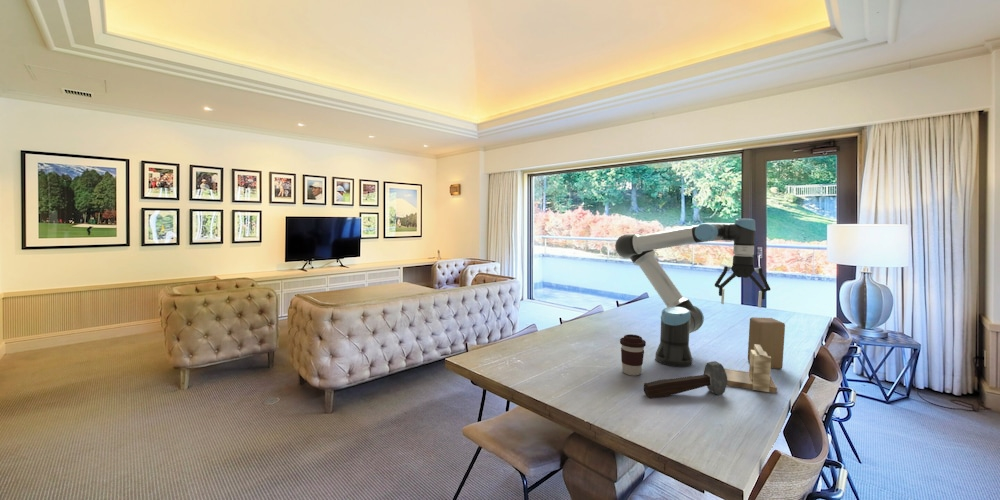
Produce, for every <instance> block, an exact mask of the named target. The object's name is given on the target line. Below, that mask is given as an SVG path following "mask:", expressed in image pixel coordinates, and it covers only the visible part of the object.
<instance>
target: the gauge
mask: <svg viewBox="0 0 1000 500" xmlns="http://www.w3.org/2000/svg"><path fill="white" fill-rule="evenodd" d="M754 349H755V350H750V362H749V370H748V372H749V376H750V378H751V380H753V389H752V390H754V391H758V392H765V393H770V392H769V386H770V376H771V369H772V368H771V357H770V356H768V355H767V353H766V351H763V349H762V347H761V346H760V345H758V344H754Z"/></svg>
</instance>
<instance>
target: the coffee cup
mask: <svg viewBox="0 0 1000 500" xmlns="http://www.w3.org/2000/svg"><path fill="white" fill-rule="evenodd" d="M646 343H647V342H646V340H645V339H643V338H642V336H641V335H637V334H631V333H630V334H625V335H624V336H623V337H621V338H620V339H619V344H620V345H621V347H620V352H621V354H620V355H621V359H620V360H621V367H622V369H621V370H622V372H623V373H624V374H625V375H629V376H634V377H636V376H640V375H641V374H642V368H643V363H644V356H645V347H646V345H647V344H646Z"/></svg>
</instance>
